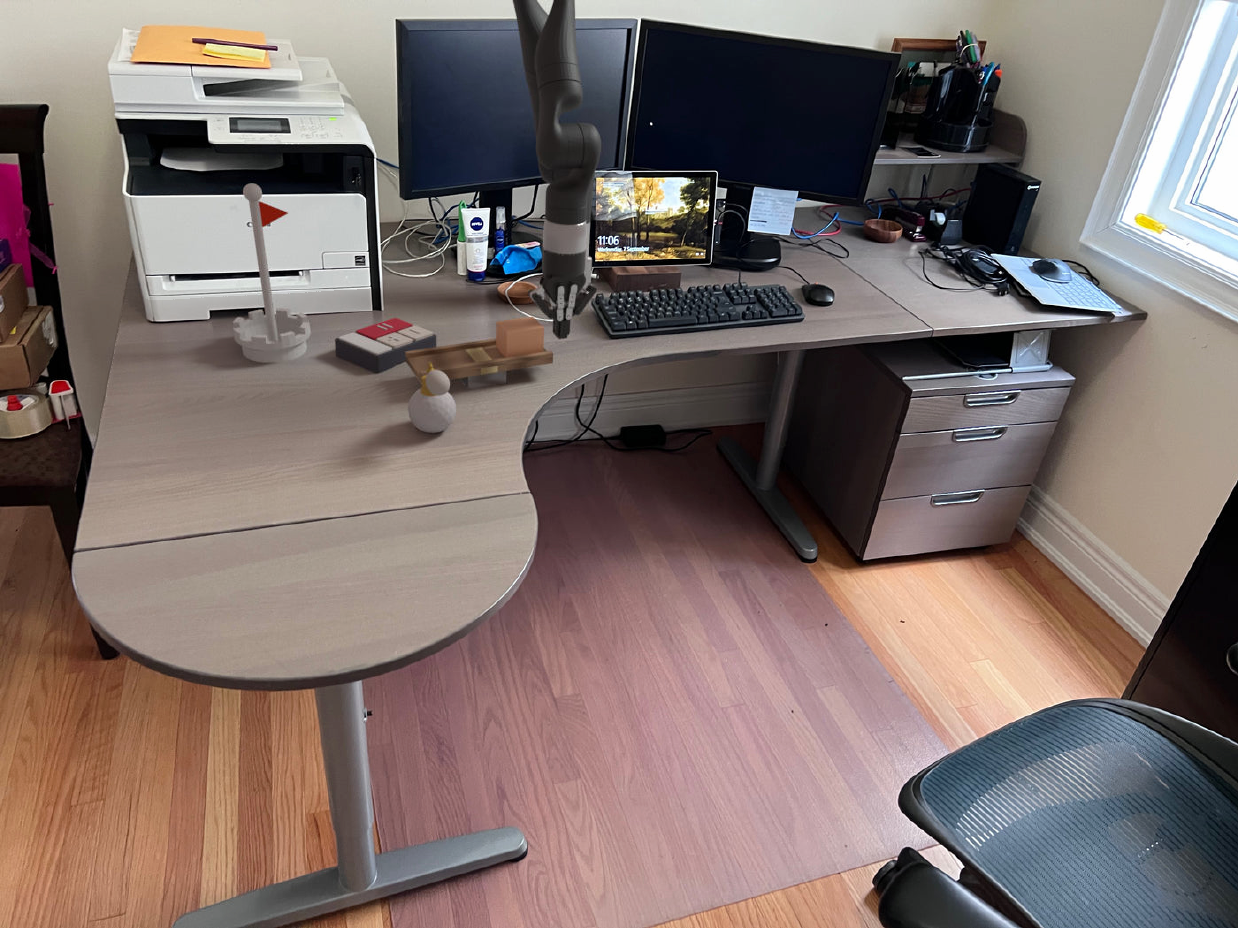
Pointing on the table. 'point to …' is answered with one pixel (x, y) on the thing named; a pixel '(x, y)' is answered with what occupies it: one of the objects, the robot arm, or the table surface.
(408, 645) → the table surface
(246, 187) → the flag stand
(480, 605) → the table surface
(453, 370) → the beam
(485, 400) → the table surface
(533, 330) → the block
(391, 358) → the calculator
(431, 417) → the perfume bottle
